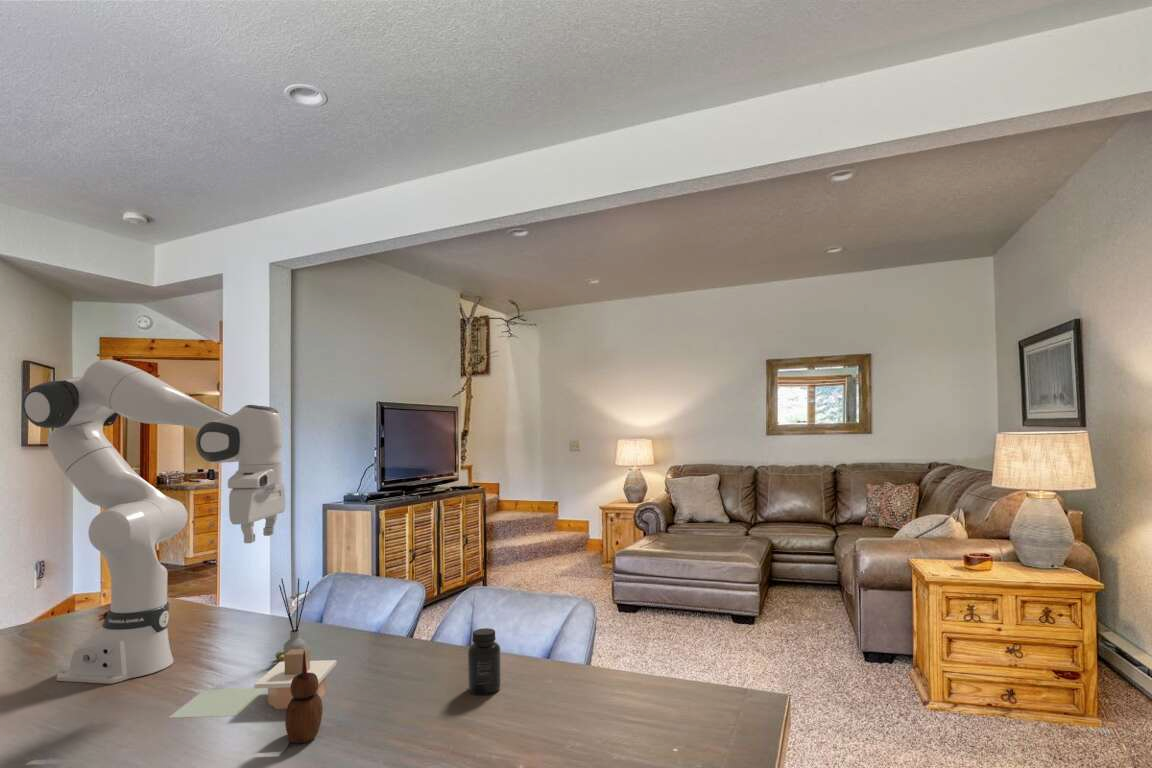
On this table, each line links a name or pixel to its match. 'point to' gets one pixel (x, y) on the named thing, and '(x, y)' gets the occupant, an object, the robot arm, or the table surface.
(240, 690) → the mat
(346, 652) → the table surface
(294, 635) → the reed diffuser
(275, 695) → the bowl
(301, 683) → the wooden figurine
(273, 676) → the lid
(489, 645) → the supplement bottle
